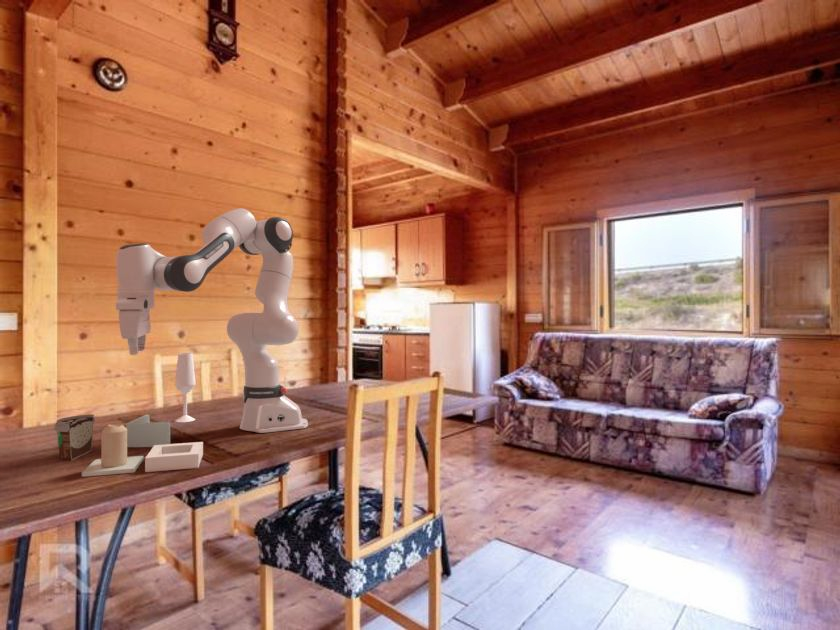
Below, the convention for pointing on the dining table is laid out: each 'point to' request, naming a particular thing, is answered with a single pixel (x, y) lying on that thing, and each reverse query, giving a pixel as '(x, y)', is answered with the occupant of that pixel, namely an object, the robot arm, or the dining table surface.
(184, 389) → the champagne flute
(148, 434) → the l-shaped corner panel
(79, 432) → the food container
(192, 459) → the pocket block
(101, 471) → the cream tile
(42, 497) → the dining table surface
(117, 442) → the candle
